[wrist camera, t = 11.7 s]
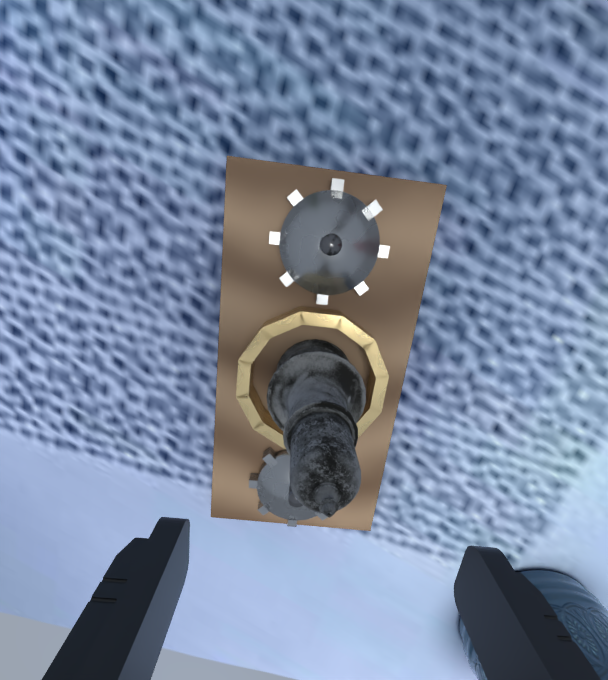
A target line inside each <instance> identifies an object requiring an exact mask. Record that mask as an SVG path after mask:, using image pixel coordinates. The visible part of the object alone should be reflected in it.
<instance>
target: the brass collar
mask: <svg viewBox="0 0 608 680" xmlns="http://www.w3.org/2000/svg"><path fill="white" fill-rule="evenodd" d="M301 325H310V326H319V327H327V328H336V329H339V330H340V331H341V332H343V333H344V334H345V335H347V336H348V337H349V338H351V339H352V340H354V341H355V342H356V343H358V344H359V345H360V346H362V348H363V351H364V353H365V356H366V359H367V361H368V364H369V366H370V371H369V377H368V382H367V387H366V403H365V407H364V411H363V413H362V415H361V417H360V418H359V420H358V422H357V423H356V424H357V427H358V438H359V437H360V436H361V434H362V433H363V432H364V431H365V430H366V429H367V428H368V427H369V426H370V424H371V423H372V422H373V421H374V420H375V419H376V418H377V417H378V416H379V414H380V413H381V412H382V408H383V403H384V398H385V393H386V388H387V384H388V379H389V375H388V372H387V369H386V367H385V364H384V362H383V359H382V356H381V354H380V351H379V349H378V346H377V343H376V341H375V339H374V338H373V337H372V336H371V334H370V333H369V332H367V331H366V330H365V329H363V328H362V327H361V326H359V325H358V324H357V323H355V322H354V321H353V320H351V319H350V318H349V317H347V316H346V315H345V314H343V313H342V312H341V311H338V310H330V309H321V308H312V307H304V306H300V307H297V308H295V309H293V310H290V311H288V312H286V313H283V314H281V315H279V316H276V317H274V318H272V319H269V320H267V321H265V322H264V323H263V325H262V326H261V328H260V329H259V330H258V332H257V333H256V334H255V336H254V337H253V339H252V340H251V341H250V343H249V344H248V345H247V347H246V348H245V349H244V351H243V352H242V354H241V356H240V358H239V359H238V373H237V388H236V398H237V400H238V402H239V404H240V406H241V408H242V409H243V411H244V413H245V415H246V417H247V419H248V421H249V422H250V424H251V426H252V428H253V429H254V430H255V431H257V432H258V433H260V434H261V435H263V436H265V437H266V438H268V439H269V440H271V441H273V442H274V443H276V444H277V445H279V446H280V447H282V448H284V449H286V448H285V446H284V440H283V432H284V431H282V430H281V429H280V428H279V427H278V426H277V424H276V423H275V422H274V421H273V419H272V417H271V415H270V412H269V411H268V410H266V409H265V407H264V405H263V403H262V401H261V399H260V397H259V395H258V394H257V392H256V390H255V388H254V386H253V373H254V360H255V358H256V357H257V356H258V354H259V353H260V352H261V350H262V349H263V348H264V346H265V345H266V344H267V342H268V341H269V339H270V338H272V337H275V336H277V335H279V334H282V333H284V332H286V331H289V330H291V329H293V328H296V327H298V326H301Z"/></svg>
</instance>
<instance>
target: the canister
mask: <svg viewBox="0 0 608 680" xmlns="http://www.w3.org/2000/svg"><path fill="white" fill-rule="evenodd" d="M521 573H522V574H523V575H524V576H525V577H526V578H527V579H528V580H529V581H530V582H531V583H532V584H533V585H534V586H535V587H536V588H537V589H538V590H539V591H540V592H541V593H542V594H543V596H544V597H545V599H546V600H547V602H548V603H549V604H550V606H551V607H552V609H553V610H554V612H555V613H556V615H557V616H558V617H557V618H558V620H559V621H561V622H562V623H563V625H564V626H565V628H566V629H567V631H568V632H569V634H570V635H571V636H572V637H571V638H572V641H573V642H576V644H577V645H578V647H579V648H580V650H581V651H582V652H583V654H584V655H585V657H586V658H587V660H588V661H589V663H590V664H591V666H592V667H593V668H594V670H595V671H596V673H597V674H598V676H599V677H600V679H601V680H608V611H607V610H606V609H605V608H604V607H603V606H602V604H601V603H600V602H599V601H598V599H597V598H596V597H595V596H593V595H592V594H591V593H590V592H588V591H587V590H586V589H585V588H584V587H583V586H582V585H581V584H580V583H579V582H577V581H576V580H574V579H573V578H571V577H569V576H567V575H564V574H561V573H558V572H553V571H545V570H530V571H522V572H521ZM459 628H460V634H461V637H462V640H463V647H464V651H465V654H466V657H467V659H468V661H469V664H470V667H471V669H472V671H473V672H474V674H475V675H476V676H477V679H478V680H487V677H486V675H485V673H484V670H483V668H482V666H481V663H480V661H479V659H478V656H477V654H476V652H475V649H474V647H473V645H472V642H471V640H470V637H469V635H468V633H467V630H466V628H465V626H464V623H463V621H462V619H461V618H460V625H459Z"/></svg>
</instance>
